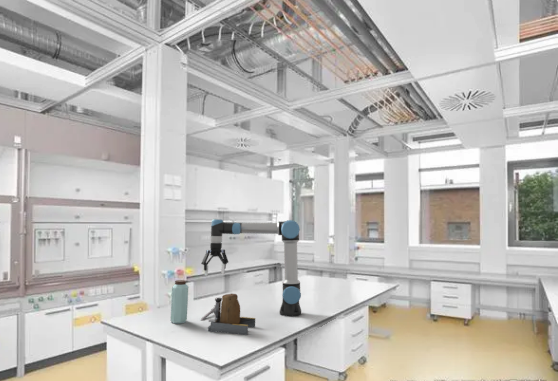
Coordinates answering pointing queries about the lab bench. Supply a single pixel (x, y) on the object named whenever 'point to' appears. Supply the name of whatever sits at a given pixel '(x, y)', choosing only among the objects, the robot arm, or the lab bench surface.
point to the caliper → (209, 313)
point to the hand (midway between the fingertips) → (214, 274)
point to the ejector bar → (217, 311)
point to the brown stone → (230, 309)
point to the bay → (233, 326)
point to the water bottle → (179, 302)
